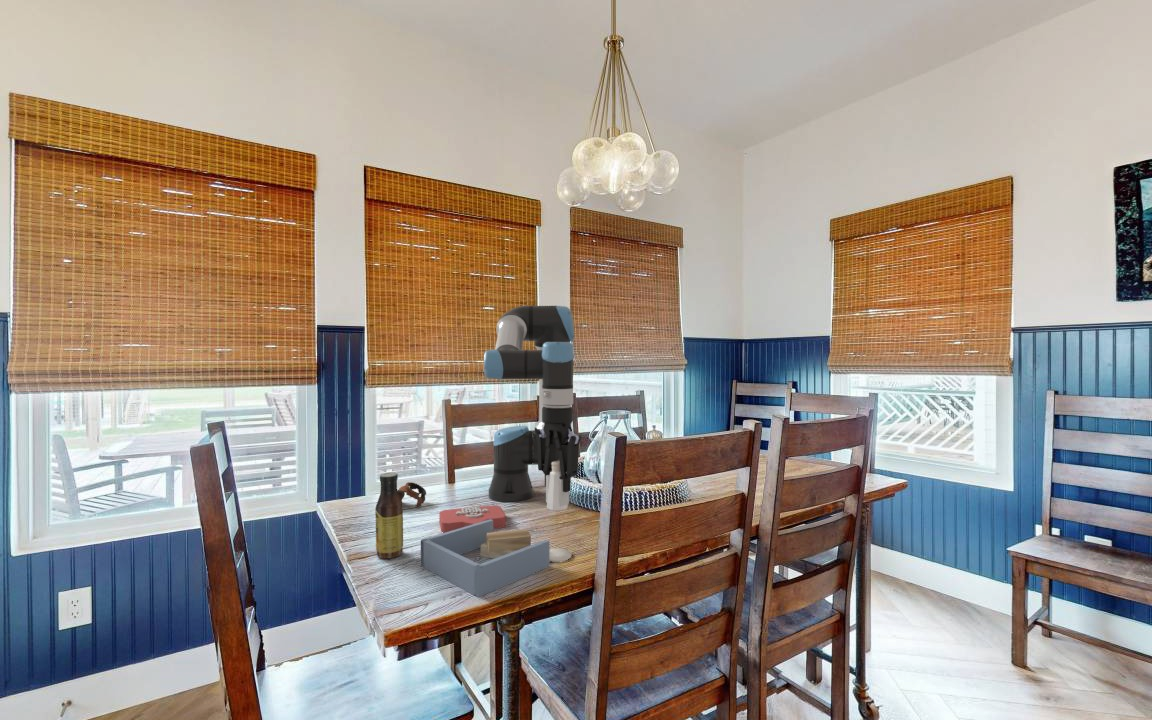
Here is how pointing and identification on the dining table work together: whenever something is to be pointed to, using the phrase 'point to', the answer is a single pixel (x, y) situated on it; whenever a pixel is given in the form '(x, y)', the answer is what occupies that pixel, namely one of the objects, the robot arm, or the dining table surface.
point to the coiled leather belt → (413, 492)
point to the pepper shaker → (554, 488)
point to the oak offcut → (508, 540)
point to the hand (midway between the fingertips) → (557, 502)
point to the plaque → (471, 517)
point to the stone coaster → (559, 554)
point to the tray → (477, 578)
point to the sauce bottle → (389, 518)
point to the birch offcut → (494, 554)
